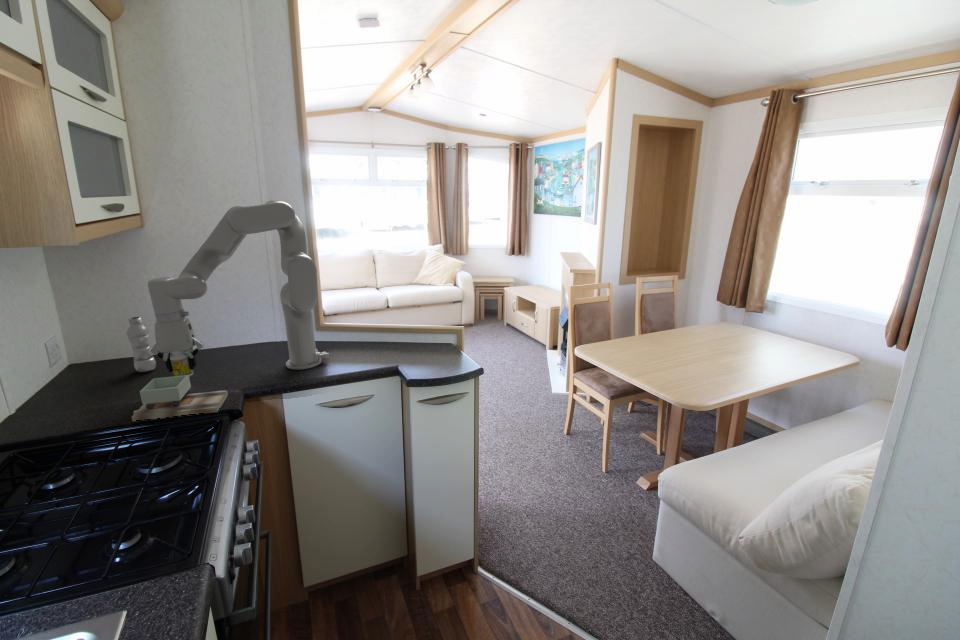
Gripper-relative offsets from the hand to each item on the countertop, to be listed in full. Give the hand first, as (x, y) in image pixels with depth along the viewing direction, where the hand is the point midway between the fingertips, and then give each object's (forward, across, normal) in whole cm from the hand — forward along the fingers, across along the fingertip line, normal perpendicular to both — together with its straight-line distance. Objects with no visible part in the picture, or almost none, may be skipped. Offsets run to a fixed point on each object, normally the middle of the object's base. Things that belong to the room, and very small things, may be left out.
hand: (182, 369), depth 149 cm
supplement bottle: (+3, 0, 0) cm, 3 cm away
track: (+7, -3, +14) cm, 16 cm away
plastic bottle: (+7, +20, -22) cm, 30 cm away
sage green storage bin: (+5, 0, +14) cm, 15 cm away
